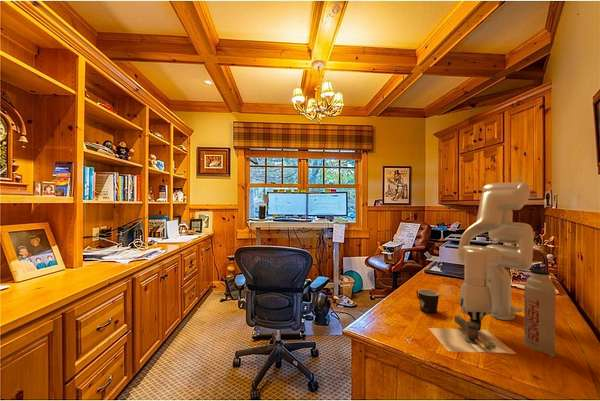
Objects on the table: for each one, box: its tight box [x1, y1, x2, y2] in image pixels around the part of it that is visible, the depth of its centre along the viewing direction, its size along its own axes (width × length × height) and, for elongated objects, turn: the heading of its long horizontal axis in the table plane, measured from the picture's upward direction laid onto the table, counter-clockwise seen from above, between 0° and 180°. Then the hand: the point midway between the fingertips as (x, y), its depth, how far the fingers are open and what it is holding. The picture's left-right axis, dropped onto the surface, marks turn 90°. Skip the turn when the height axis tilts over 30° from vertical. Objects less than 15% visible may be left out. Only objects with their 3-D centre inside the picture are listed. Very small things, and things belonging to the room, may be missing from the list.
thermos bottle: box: [523, 268, 556, 358], centre depth 92 cm, size 8×8×28 cm
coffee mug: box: [416, 288, 440, 315], centre depth 123 cm, size 12×9×10 cm
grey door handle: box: [454, 315, 486, 348], centre depth 98 cm, size 18×4×5 cm, turn 176°
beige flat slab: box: [428, 327, 517, 355], centre depth 97 cm, size 22×16×2 cm
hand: (475, 328), depth 102 cm, fingers closed
